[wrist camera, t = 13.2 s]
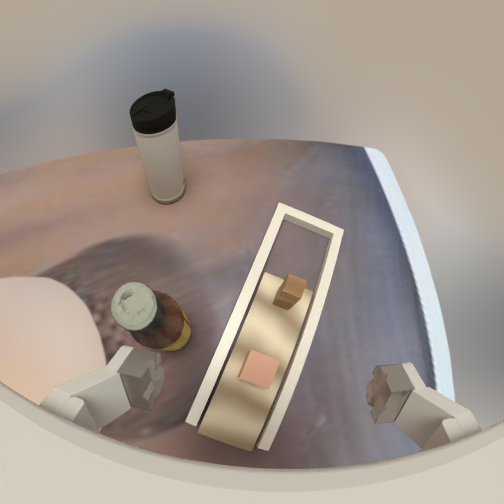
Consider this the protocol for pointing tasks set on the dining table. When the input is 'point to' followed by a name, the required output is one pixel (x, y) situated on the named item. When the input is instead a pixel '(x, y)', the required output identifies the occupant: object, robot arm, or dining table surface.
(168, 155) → the travel mug
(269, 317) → the pale strip
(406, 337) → the dining table surface
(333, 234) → the guide rails
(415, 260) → the dining table surface
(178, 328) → the sauce bottle
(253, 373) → the terracotta block
